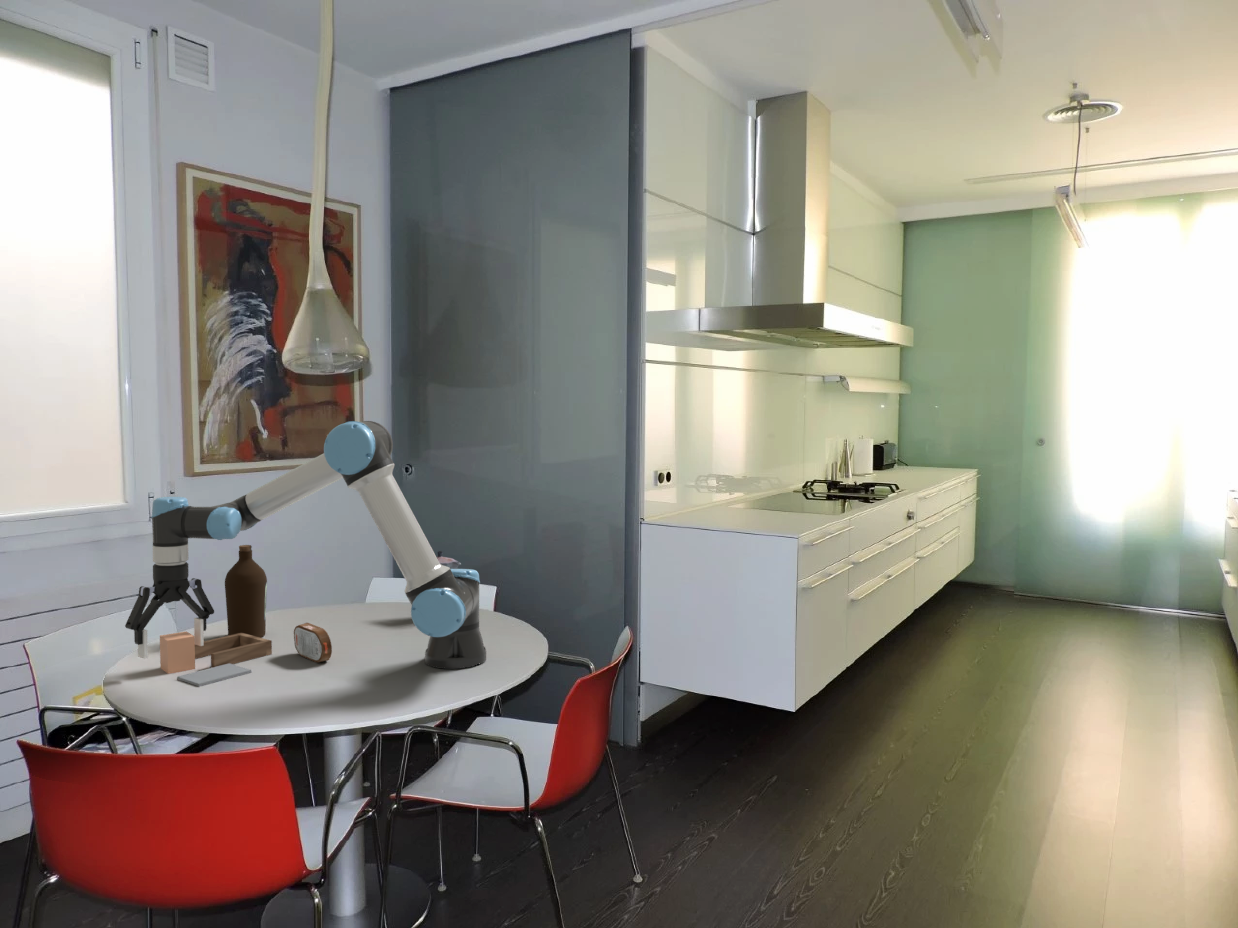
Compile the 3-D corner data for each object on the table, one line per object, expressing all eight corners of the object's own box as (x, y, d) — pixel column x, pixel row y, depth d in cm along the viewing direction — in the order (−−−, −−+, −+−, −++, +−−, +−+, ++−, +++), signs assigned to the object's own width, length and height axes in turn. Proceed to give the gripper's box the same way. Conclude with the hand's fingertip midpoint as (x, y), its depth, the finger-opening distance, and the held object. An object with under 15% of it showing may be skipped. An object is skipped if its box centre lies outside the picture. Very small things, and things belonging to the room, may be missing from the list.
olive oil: (234, 643, 234) (232, 550, 233) (219, 635, 242) (218, 545, 240) (274, 636, 242) (272, 546, 240) (259, 629, 249) (257, 541, 248)
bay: (271, 654, 225) (271, 640, 225) (214, 668, 212) (214, 654, 212) (241, 645, 232) (241, 632, 232) (184, 659, 219) (184, 645, 219)
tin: (333, 663, 217) (332, 630, 217) (321, 666, 215) (320, 632, 215) (303, 651, 228) (302, 619, 227) (291, 654, 225) (291, 621, 225)
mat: (251, 672, 210) (251, 669, 210) (199, 686, 199) (199, 683, 199) (229, 665, 215) (229, 663, 215) (177, 679, 204) (177, 676, 204)
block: (195, 669, 212) (194, 636, 211) (168, 673, 208) (167, 640, 207) (187, 663, 216) (186, 631, 216) (160, 668, 212) (159, 635, 212)
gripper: (211, 553, 221) (212, 637, 222) (107, 568, 200) (109, 659, 202) (228, 557, 217) (229, 642, 218) (124, 572, 196) (126, 665, 198)
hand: (171, 651), depth 210 cm, fingers open, 13 cm apart
